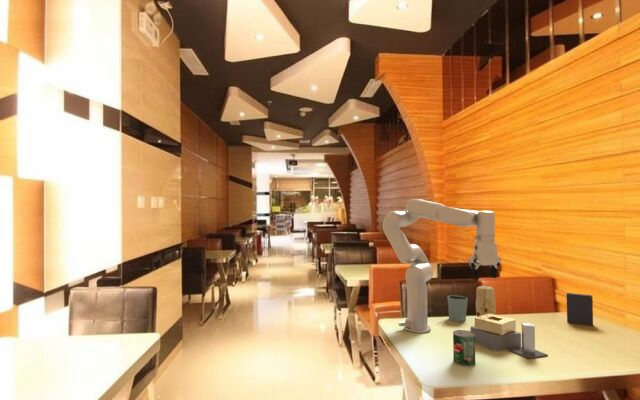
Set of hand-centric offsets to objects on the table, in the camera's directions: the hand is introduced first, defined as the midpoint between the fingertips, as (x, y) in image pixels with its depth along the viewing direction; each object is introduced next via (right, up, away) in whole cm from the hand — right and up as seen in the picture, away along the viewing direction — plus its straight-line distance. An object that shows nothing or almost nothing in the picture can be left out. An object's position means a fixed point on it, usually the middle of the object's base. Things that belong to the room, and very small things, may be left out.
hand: (484, 277), depth 165 cm
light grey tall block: (+12, -27, -13) cm, 33 cm away
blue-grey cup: (+1, -30, +35) cm, 46 cm away
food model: (+11, -30, +23) cm, 39 cm away
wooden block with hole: (+5, -22, -2) cm, 23 cm away
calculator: (+62, -30, +28) cm, 75 cm away
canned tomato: (-18, -28, -23) cm, 40 cm away
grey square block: (+4, -28, -2) cm, 29 cm away
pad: (+12, -28, -13) cm, 33 cm away
